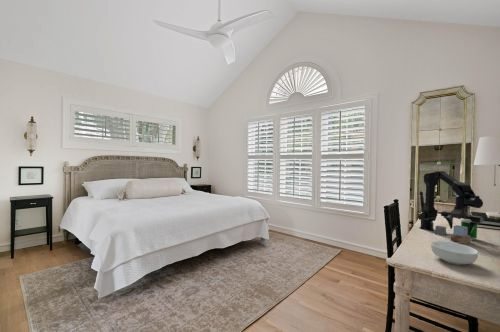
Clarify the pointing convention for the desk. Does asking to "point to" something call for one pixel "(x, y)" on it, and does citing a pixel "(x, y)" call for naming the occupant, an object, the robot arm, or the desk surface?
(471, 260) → the cereal bowl
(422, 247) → the desk surface
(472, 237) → the soda can
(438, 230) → the charcoal cube
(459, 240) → the walnut plinth
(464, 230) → the blue cube
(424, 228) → the robot arm
